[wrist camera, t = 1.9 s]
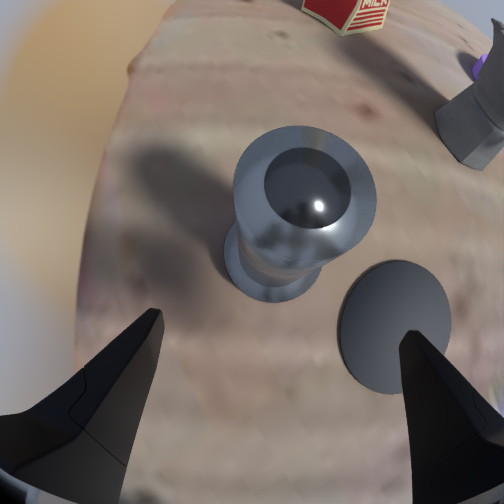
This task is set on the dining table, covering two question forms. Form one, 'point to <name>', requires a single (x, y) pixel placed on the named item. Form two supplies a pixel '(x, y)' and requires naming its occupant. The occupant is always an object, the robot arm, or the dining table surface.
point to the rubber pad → (391, 321)
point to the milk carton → (348, 14)
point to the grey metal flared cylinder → (295, 210)
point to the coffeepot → (477, 112)
